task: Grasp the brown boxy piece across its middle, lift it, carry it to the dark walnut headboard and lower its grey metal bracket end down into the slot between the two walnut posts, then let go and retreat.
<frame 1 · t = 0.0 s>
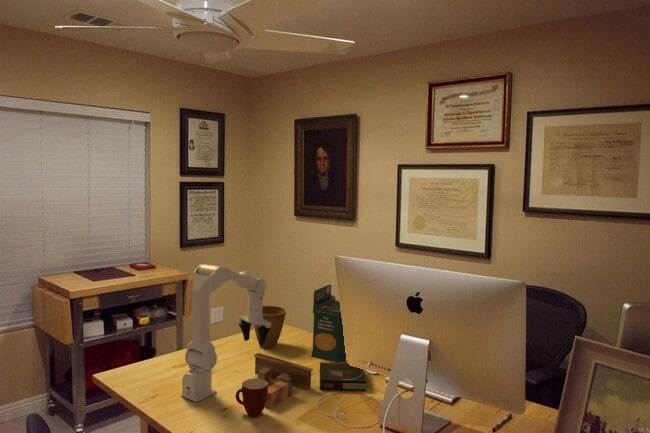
hand: (254, 342, 190), 10 cm above the table, fingers open, 7 cm apart
portable cd player: (341, 382, 182), on the table
headboard: (273, 385, 176), on the table
mug: (250, 414, 155), on the table
brown boxy piece: (277, 400, 165), on the table
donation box: (336, 354, 208), on the table
plant pot: (268, 345, 216), on the table
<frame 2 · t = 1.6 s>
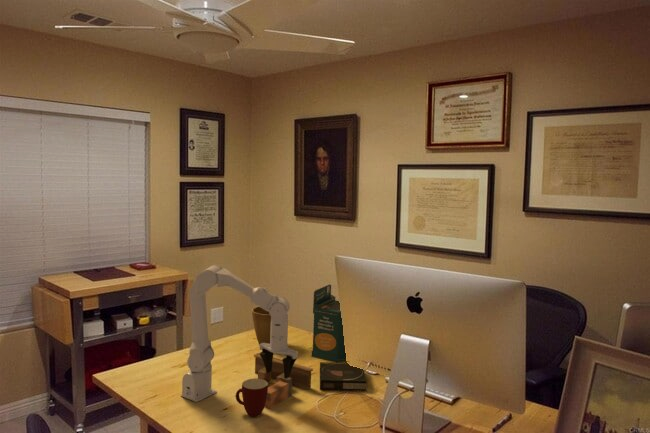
hand: (277, 374, 164), 9 cm above the table, fingers open, 7 cm apart
nothing on the table moved.
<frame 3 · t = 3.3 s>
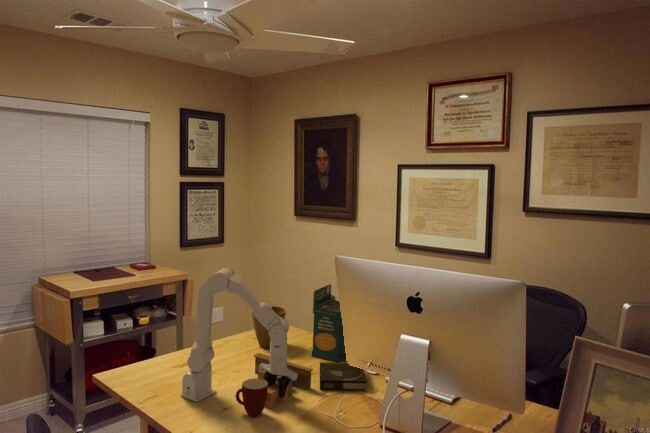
hand: (277, 395, 164), 2 cm above the table, fingers closed on brown boxy piece, 3 cm apart
brown boxy piece: (277, 400, 165), on the table, touching gripper
everything else where it was.
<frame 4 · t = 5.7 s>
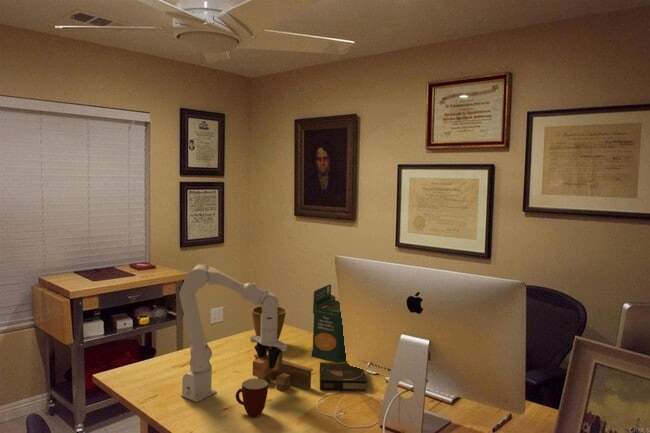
hand: (267, 366, 169), 9 cm above the table, fingers closed on brown boxy piece, 3 cm apart
brown boxy piece: (267, 370, 169), point 8 cm above the table, touching gripper
everything else where it was.
when the fingers open (3 cm above the table, at t = 8.2 s): brown boxy piece drops 1 cm, on the table.
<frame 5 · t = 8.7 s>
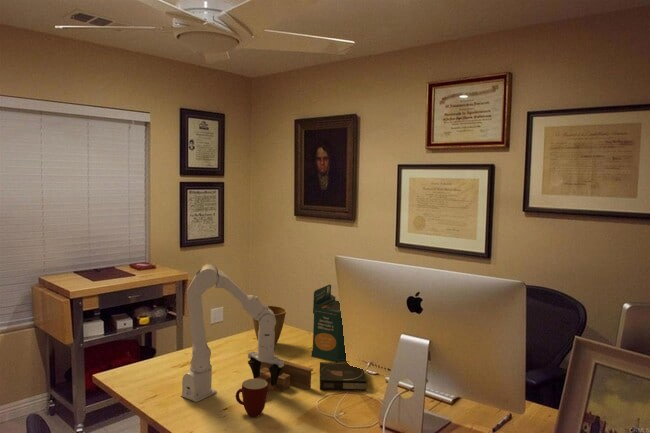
hand: (265, 382, 172), 3 cm above the table, fingers open, 7 cm apart
brown boxy piece: (264, 390, 172), on the table
everything else where it was.
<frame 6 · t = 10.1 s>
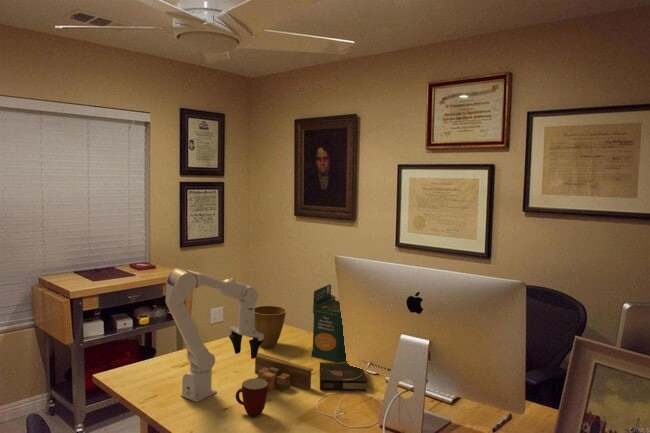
hand: (245, 355, 177), 10 cm above the table, fingers open, 7 cm apart
nothing on the table moved.
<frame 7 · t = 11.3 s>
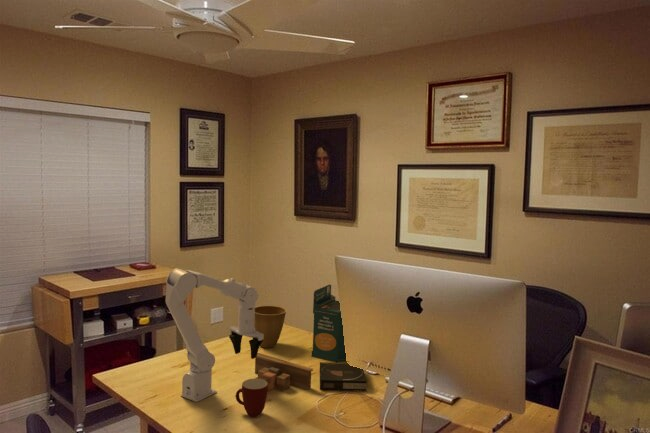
hand: (245, 355, 177), 10 cm above the table, fingers open, 7 cm apart
nothing on the table moved.
at the end: brown boxy piece 0.0 cm from the target spot on the headboard, point 0.0 cm above the headboard's base; brown boxy piece tilted 0°; the gripper is holding nothing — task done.
